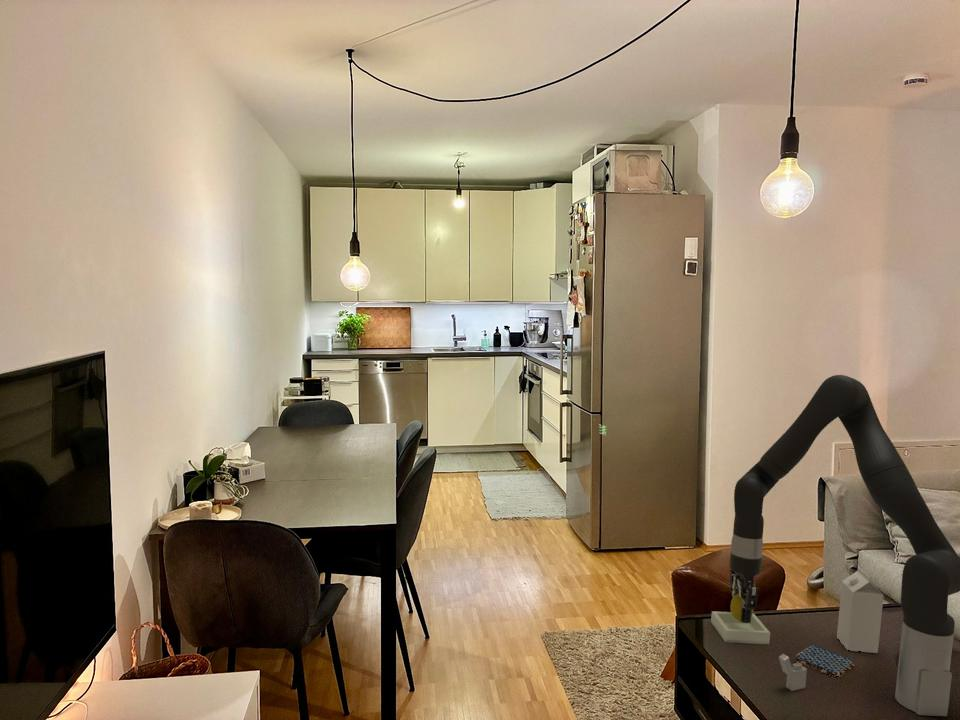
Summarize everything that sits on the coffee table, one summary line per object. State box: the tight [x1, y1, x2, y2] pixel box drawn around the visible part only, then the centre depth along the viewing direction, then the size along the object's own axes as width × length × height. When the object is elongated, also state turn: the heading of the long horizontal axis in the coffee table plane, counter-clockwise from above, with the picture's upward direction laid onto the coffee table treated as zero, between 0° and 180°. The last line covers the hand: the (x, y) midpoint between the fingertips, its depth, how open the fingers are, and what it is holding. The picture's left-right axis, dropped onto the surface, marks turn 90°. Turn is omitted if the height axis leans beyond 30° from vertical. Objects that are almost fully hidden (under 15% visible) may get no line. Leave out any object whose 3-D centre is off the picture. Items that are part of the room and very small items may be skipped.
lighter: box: [778, 653, 808, 692], centre depth 159 cm, size 7×2×8 cm, turn 113°
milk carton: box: [836, 566, 884, 654], centre depth 181 cm, size 7×7×19 cm
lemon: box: [729, 593, 755, 623], centre depth 185 cm, size 6×6×8 cm
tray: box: [710, 610, 771, 645], centre depth 185 cm, size 11×11×3 cm
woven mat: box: [794, 643, 855, 678], centre depth 172 cm, size 10×11×2 cm
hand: (741, 616), depth 185 cm, fingers closed on lemon, 5 cm apart
